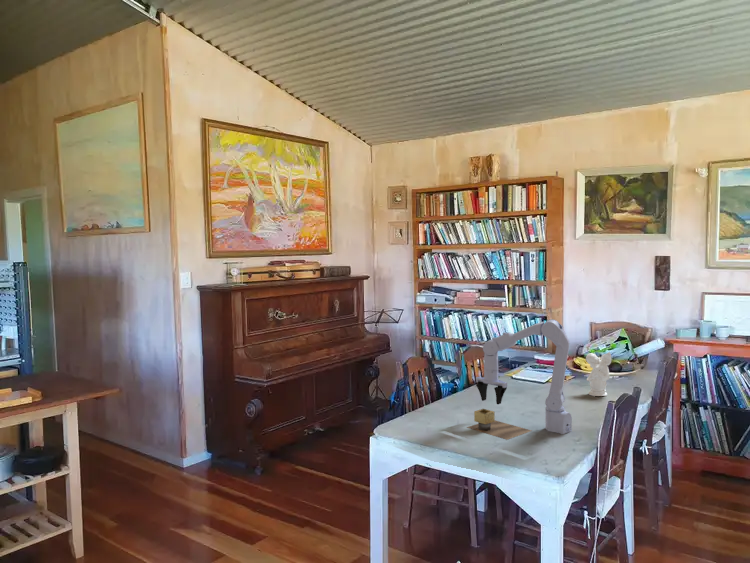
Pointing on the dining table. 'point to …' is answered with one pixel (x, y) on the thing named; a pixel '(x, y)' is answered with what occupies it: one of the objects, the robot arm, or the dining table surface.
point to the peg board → (499, 429)
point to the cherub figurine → (598, 373)
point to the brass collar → (484, 416)
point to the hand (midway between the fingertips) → (491, 402)
